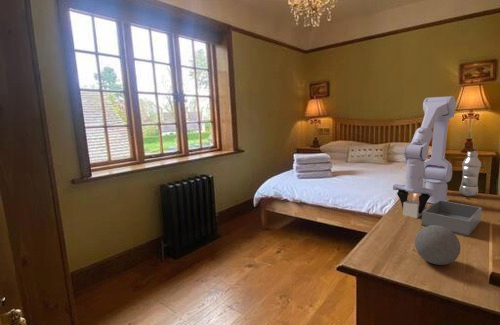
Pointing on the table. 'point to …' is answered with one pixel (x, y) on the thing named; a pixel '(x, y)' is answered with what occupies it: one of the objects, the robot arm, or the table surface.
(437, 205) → the box
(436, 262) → the decorative ball
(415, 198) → the brown egg
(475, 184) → the plastic bottle
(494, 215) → the table surface
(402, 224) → the table surface
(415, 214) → the cube
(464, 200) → the table surface
